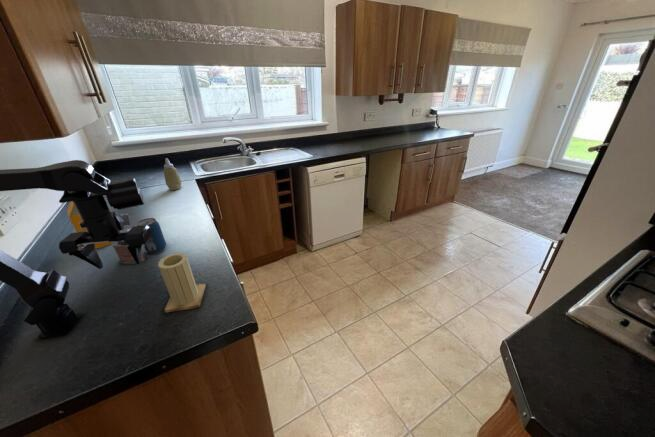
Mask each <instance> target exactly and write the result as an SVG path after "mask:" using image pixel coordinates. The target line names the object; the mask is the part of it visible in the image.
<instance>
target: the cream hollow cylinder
mask: <svg viewBox="0 0 655 437" xmlns="http://www.w3.org/2000/svg"><path fill="white" fill-rule="evenodd" d="M157 268H158V269H159V271H160V274H161V276H162V277H161V278H162V279H163V282H164V284H165V287H166V290H167V292H168V295H169V298H170V297H171V300H172V302H173V303H174V304H175V305H184V304H187V303H190V302H192V301H193V300H194V299H195V298H196V297H197V295H198V289H197V286H196V285H197V282H196V281H195V277H194V274H193V271H192V267H191V264H190V261H189V259H188V256H187V255H186V254H185V253H183V252H176V253H171V254H167V255H166V256H164V257H162V258H161V259H160V260H159V261H158V264H157Z"/></svg>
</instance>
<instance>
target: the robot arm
mask: <svg viewBox="0 0 655 437" xmlns="http://www.w3.org/2000/svg"><path fill="white" fill-rule="evenodd" d="M34 189H35V190H36V189H44V190H51V191H56V192H63V194H62V196H61V198H59V200H58V202H59V203H60V204H64V203H65V204H66V203H70V202H71V201H73V203H74V205H75V207H76V209H77V211H78V213H79V215H80V217H81V219H82V221H83V222H82V223H80V226H81V228H85V227H86V229H87V231H88V232H77V231H76V232H71V233H69V234H68V235H67V236H66V237H64V238H63V239H61V240H60V241H59V243H58V250H59V252H60V253H61V254H63V255H66V254H68V255H69V256H73V257H76V258H78V259H79V260H82V261H85V262H86V263H88V264H90V265H92V266H93V267H95V268H97V269H99V270H101V269H102V268H104V263H103V262H102V259H101V258H100V255H99V254H98V252H97V249H95V243H103V242H111V243H112V242H113V241H121V240H125V242H126V244H128V245H129V246H128V247H127V248H128V250H129V252H130V253H131V255H132V257H133V258H134V260H135V262H136V263H135V264H137V265H140V264H141V263H142V262H141V253H142V248H143V246H144V245H143V244H145V243H146V242H147V241H148V239H149V238H150V236H151V235H152V234H153V232H152V230H151V228H150V227H149V226H147V225H145V226H138V225H136V226H132V227H131V228H130V229H129V230H128V231H125V232H121V231H124V230H125V227H126V226H130V225H131V222H130V217H129V213H121V214H117V212H116V211H111V208H113V209H114V210H115V209H117V210H124V209H129V208H133V207H134V208H135V207H139V206H144V205H146V203H145V199H144V195H143V193H142V189H141V187H139V185H138V182H137V181H136V178H133V177H132V178H127V179H125V180H119V181H113V182H111V180H110V179H109V178H107V177H105V176H104V175H103V174H101V173H98V172H97V171H96V170H95V168H94V167H93V165H91V164H90V163H88V162H86V161H85V160H81V159H73V160H68V161H62V162H57V163H52V164H49V165H45V166H39V167H28V168H7V169H0V192H7V191H9V192H10V191H20V190H21V191H22V190H34ZM110 207H111V208H110ZM140 262H141V263H140ZM67 279H68V277H67V276H64V275H61V274H59V273H58V272H57V271H56V270H55V269H54V268H51V269H50V270H48V271H47V272H45V271H44V272H43V271H37V270H35V269H33V268H32V267H30V266H29V265H26V264H25V263H24V262H21V261H20V260H18V259H17V258H15V257H13V256H12V255H10V254H8V253H7V252H5V251H3V250H1V249H0V282H2V283H3V284H5V285H7V286H9V287H10V288H13V289H14V290H15V291H16V293H17V294H18V296H19V297H20V299H21V300H22V302H23V303H24V304H26V306H29V310H28V311H27V313H26V314H25V315H26V316H25V318H24V320H23V322H24V323H26V324H28V325H30V326H36V327H37V328H38V329H39V331H40V332H41V333H39V335H38V336H37V339H38V340H43V339H51V338H56V337H62V336H67V335H68V334H69V333H70V332H71V331H72V329H73V328H74V327H75V326H76V324H77V323H78V321H80V319H81V317H82V314H76V312H75V311H74V309H73V308H71V307H70V306H69V304H68V303H66V302H65V301H66V299H67V295H68V293H69V290H70V282H69V281H68V280H67Z"/></svg>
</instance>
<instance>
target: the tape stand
mask: <svg viewBox="0 0 655 437" xmlns="http://www.w3.org/2000/svg"><path fill="white" fill-rule="evenodd" d="M196 286H197V289H198V295H197V297H196V298H195V299H194V300H193V301H192V302H190V303H187V304H184V305H175V304H174V303H173V302H172V300H171V297H170V296H169V298H168V301H167V303H166V305H165V308H164V313H165V314H166V313H172V312H179V311H184V310H191V309H199V308H201V304H202V301H203V298H204V294H205V291H206V287H207V284H206V283H199V284H196Z"/></svg>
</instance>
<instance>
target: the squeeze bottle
mask: <svg viewBox="0 0 655 437" xmlns="http://www.w3.org/2000/svg"><path fill="white" fill-rule="evenodd" d="M164 161H165V163H164V165H163V167H164V169H163V175H164V180H165V185H166V187H167V188H168V190H170V191H177V190H180V189H181V188H182V180H181V177H180V175H179V173H178V170H177V168H176V167H174V164H173V163H171V162H170V160H169V158H167V157H166V158H165V159H164Z"/></svg>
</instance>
